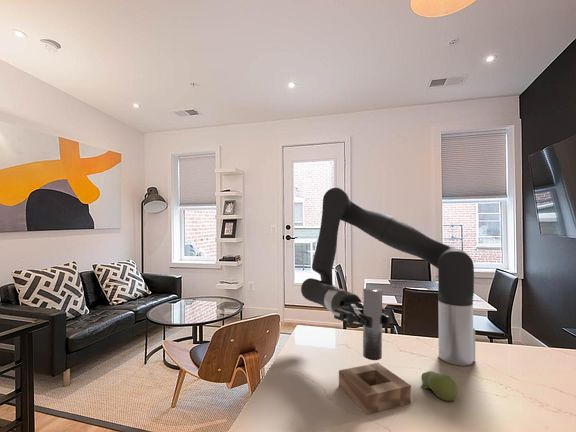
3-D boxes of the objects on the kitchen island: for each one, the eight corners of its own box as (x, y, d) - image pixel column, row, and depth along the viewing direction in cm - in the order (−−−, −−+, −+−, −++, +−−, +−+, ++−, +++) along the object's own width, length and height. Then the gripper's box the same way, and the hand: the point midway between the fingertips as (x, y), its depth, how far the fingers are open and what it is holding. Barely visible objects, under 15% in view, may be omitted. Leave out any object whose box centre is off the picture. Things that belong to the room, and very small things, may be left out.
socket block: (378, 377, 82) (378, 362, 82) (410, 402, 71) (410, 385, 71) (338, 386, 78) (338, 370, 78) (366, 414, 67) (366, 395, 67)
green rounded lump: (442, 381, 70) (414, 368, 80) (445, 406, 69) (417, 390, 79) (462, 377, 71) (433, 365, 81) (466, 402, 70) (435, 387, 80)
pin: (374, 350, 77) (374, 287, 77) (385, 358, 73) (386, 291, 73) (359, 353, 76) (359, 288, 76) (370, 361, 72) (370, 292, 72)
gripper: (319, 292, 86) (353, 309, 69) (363, 288, 91) (404, 303, 75) (319, 319, 85) (353, 342, 69) (363, 313, 90) (404, 334, 74)
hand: (379, 322), depth 72 cm, fingers closed on pin, 4 cm apart
